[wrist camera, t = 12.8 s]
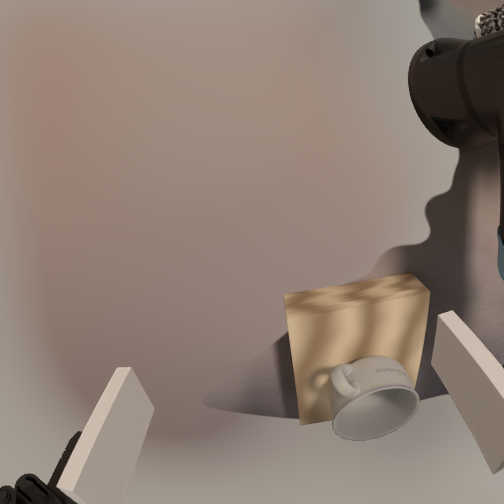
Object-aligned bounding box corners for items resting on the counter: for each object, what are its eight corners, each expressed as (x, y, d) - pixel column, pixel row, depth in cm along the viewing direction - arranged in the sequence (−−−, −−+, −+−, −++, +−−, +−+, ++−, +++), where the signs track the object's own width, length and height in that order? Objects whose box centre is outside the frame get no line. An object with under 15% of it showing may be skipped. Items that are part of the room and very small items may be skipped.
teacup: (407, 377, 38) (427, 416, 30) (342, 412, 40) (352, 453, 32) (375, 312, 34) (399, 353, 26) (297, 356, 36) (304, 403, 29)
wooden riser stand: (410, 272, 39) (430, 291, 33) (399, 377, 45) (411, 401, 40) (283, 294, 40) (286, 318, 34) (297, 398, 47) (300, 425, 41)
